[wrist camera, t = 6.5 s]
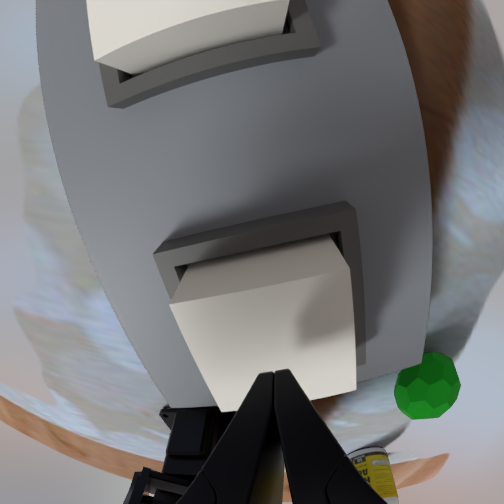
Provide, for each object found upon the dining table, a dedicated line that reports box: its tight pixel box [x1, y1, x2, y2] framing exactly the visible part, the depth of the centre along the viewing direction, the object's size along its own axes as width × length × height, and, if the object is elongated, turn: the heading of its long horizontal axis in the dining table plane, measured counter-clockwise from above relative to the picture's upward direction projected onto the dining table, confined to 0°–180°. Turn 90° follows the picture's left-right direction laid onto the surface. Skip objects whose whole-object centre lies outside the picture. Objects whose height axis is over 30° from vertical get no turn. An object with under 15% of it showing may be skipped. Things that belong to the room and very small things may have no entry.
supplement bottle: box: [347, 447, 399, 504], centre depth 19 cm, size 5×5×10 cm
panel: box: [36, 0, 433, 408], centre depth 11 cm, size 24×14×5 cm, turn 14°
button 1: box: [169, 234, 356, 412], centre depth 10 cm, size 5×5×3 cm
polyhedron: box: [394, 352, 461, 420], centre depth 16 cm, size 5×5×5 cm
